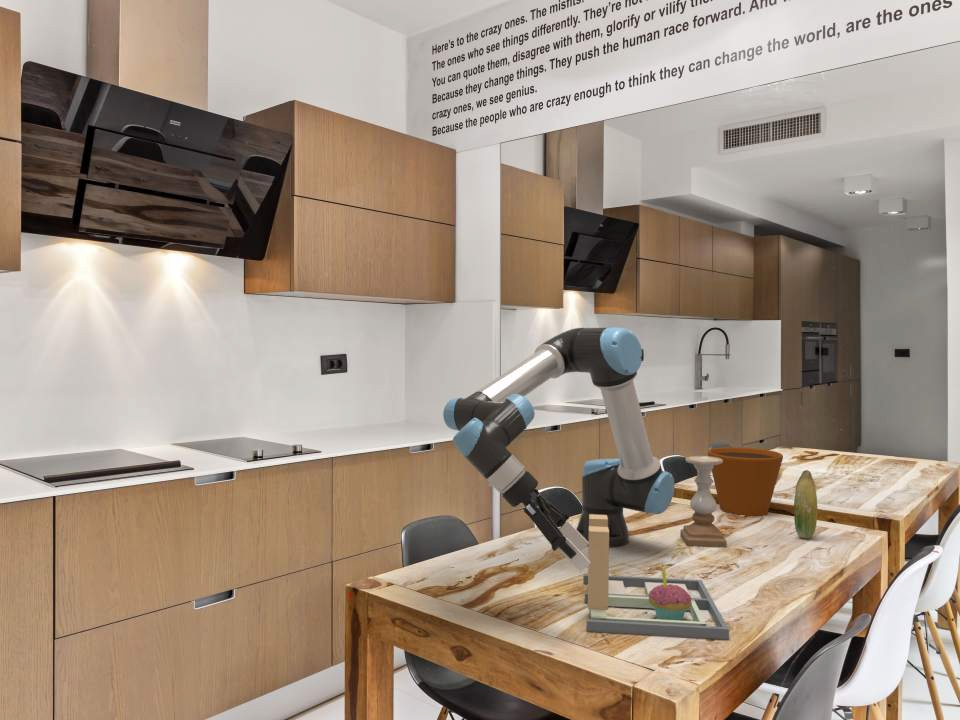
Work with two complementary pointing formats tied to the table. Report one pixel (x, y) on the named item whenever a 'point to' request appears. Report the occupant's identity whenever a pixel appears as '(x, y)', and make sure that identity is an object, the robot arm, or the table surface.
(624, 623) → the board
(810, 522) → the vegetable
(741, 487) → the flower pot
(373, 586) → the table surface
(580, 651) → the table surface
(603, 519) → the broken strip
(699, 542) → the candle holder
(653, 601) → the cupcake
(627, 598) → the pale green frame
